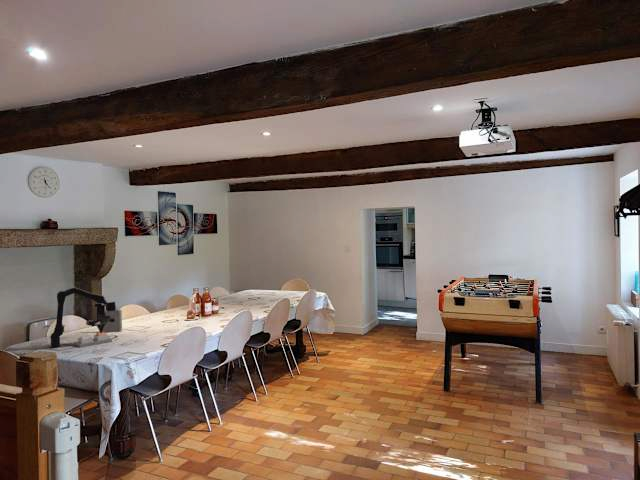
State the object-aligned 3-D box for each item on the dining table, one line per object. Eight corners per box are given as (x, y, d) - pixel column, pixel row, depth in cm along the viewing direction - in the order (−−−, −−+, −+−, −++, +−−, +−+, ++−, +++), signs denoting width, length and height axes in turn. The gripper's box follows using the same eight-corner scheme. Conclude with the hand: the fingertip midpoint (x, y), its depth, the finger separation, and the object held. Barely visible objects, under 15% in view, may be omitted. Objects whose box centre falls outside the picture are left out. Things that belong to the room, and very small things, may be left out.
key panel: (74, 344, 324) (74, 337, 324) (105, 339, 340) (105, 332, 340) (80, 347, 316) (80, 340, 316) (112, 341, 332) (111, 335, 332)
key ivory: (80, 340, 324) (80, 336, 324) (87, 339, 328) (87, 335, 328) (82, 341, 321) (82, 337, 321) (90, 340, 324) (90, 336, 324)
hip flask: (101, 332, 365) (100, 307, 365) (103, 331, 369) (102, 307, 369) (121, 331, 366) (120, 307, 366) (123, 330, 370) (122, 306, 370)
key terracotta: (96, 337, 332) (96, 332, 332) (103, 335, 336) (103, 331, 336) (98, 338, 329) (98, 333, 329) (105, 336, 332) (105, 332, 332)
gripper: (91, 315, 320) (91, 336, 320) (117, 311, 333) (118, 332, 334) (85, 313, 327) (85, 334, 327) (111, 309, 341) (111, 330, 341)
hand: (100, 332), depth 332 cm, fingers closed, pressing on key terracotta
